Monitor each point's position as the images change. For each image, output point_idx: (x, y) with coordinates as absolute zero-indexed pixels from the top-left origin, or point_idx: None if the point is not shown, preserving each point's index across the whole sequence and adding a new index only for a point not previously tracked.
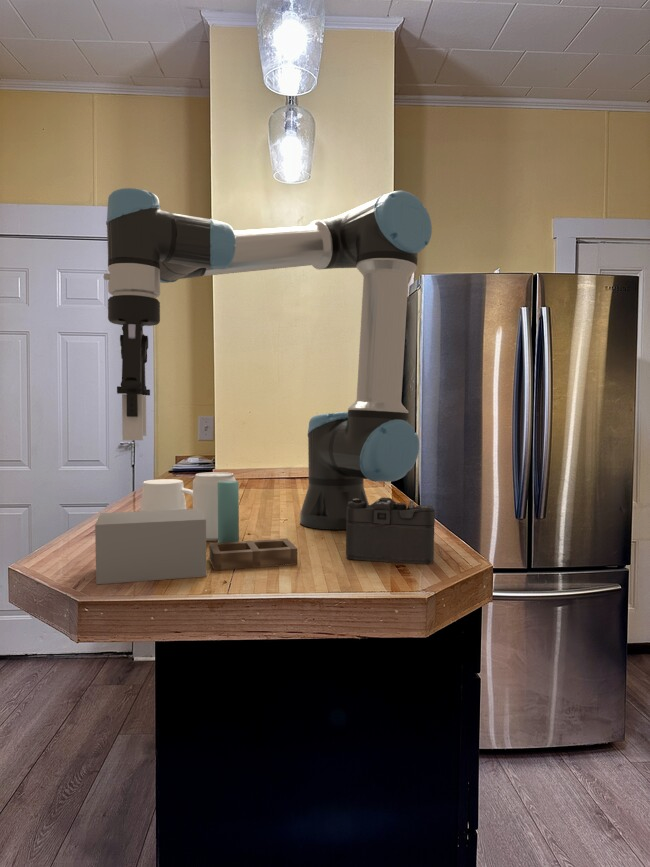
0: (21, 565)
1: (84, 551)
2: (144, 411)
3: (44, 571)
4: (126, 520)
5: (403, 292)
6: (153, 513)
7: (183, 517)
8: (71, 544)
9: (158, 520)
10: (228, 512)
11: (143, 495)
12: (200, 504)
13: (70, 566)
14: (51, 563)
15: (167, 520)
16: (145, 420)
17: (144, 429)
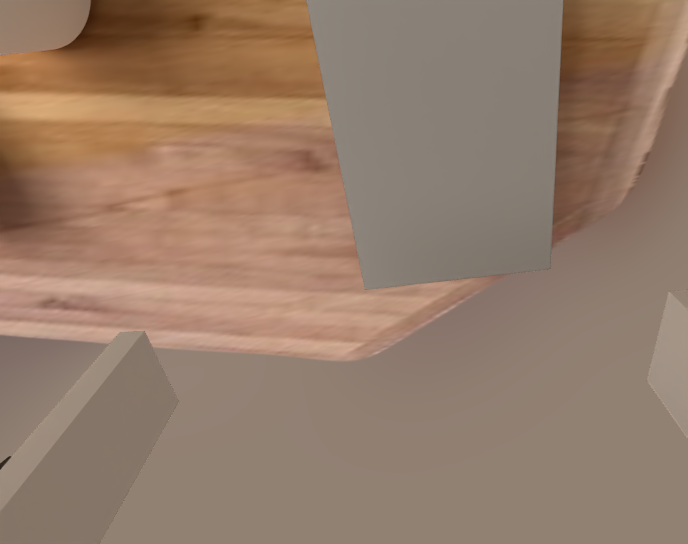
0: (344, 357)
1: (238, 285)
2: (50, 465)
3: (392, 315)
4: (504, 202)
5: None
6: (391, 142)
7: (495, 13)
8: (181, 320)
9: (533, 102)
10: None
11: None
12: (10, 17)
13: (360, 283)
14: (334, 318)
15: (543, 68)
16: (91, 403)
17: (126, 363)
